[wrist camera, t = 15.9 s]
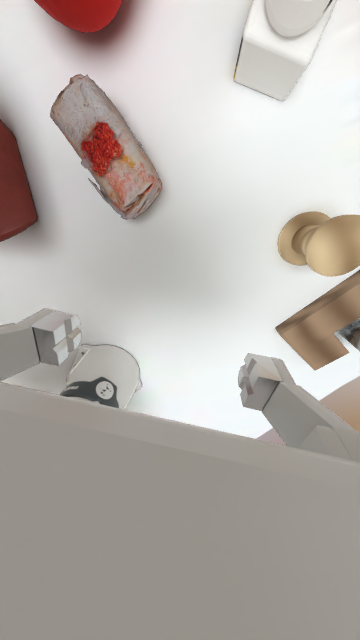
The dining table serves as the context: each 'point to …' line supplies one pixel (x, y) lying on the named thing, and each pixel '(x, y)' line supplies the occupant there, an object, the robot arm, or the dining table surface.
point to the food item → (106, 147)
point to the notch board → (323, 324)
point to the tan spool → (322, 242)
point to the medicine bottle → (280, 43)
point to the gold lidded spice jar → (352, 333)
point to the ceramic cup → (82, 13)
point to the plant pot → (13, 189)
